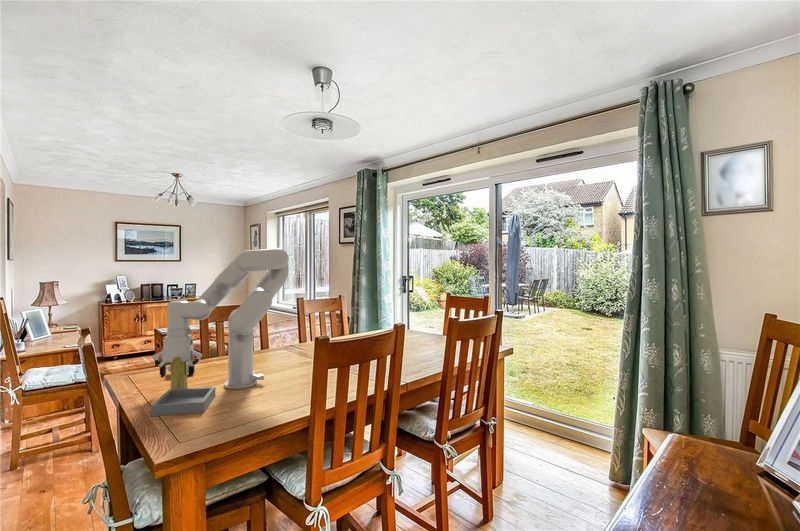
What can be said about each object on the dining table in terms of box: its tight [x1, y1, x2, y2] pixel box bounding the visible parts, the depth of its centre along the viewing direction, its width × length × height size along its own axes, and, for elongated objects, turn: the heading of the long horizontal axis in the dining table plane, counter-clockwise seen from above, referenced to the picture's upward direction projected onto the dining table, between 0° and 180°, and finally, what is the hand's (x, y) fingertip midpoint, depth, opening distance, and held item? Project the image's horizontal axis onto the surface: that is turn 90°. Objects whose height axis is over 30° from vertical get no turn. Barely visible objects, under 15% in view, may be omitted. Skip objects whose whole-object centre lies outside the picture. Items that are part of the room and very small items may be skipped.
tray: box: [150, 386, 216, 417], centre depth 136 cm, size 16×16×4 cm
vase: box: [169, 357, 189, 390], centre depth 150 cm, size 6×6×14 cm
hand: (177, 376), depth 149 cm, fingers open, 9 cm apart
